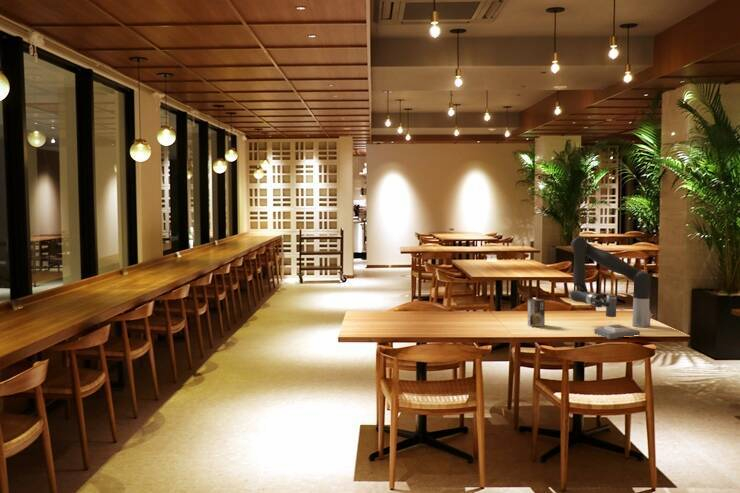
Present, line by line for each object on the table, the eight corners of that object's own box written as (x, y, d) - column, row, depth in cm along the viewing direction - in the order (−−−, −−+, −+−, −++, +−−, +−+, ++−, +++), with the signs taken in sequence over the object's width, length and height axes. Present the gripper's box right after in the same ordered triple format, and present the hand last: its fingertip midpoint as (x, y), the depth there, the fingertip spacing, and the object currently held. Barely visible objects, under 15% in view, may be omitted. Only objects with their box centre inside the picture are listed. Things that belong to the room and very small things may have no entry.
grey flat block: (623, 331, 405) (624, 323, 405) (639, 336, 392) (639, 327, 391) (594, 333, 400) (594, 325, 399) (609, 338, 386) (609, 330, 386)
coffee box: (541, 324, 427) (542, 298, 425) (544, 326, 420) (545, 300, 419) (527, 324, 427) (527, 298, 425) (529, 326, 420) (530, 300, 419)
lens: (612, 314, 399) (612, 294, 398) (618, 316, 394) (618, 295, 393) (603, 315, 398) (604, 294, 397) (609, 317, 392) (610, 296, 391)
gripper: (584, 294, 408) (602, 298, 391) (605, 292, 412) (624, 297, 395) (584, 306, 408) (601, 311, 392) (605, 305, 412) (623, 310, 396)
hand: (612, 304), depth 394 cm, fingers closed on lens, 5 cm apart
